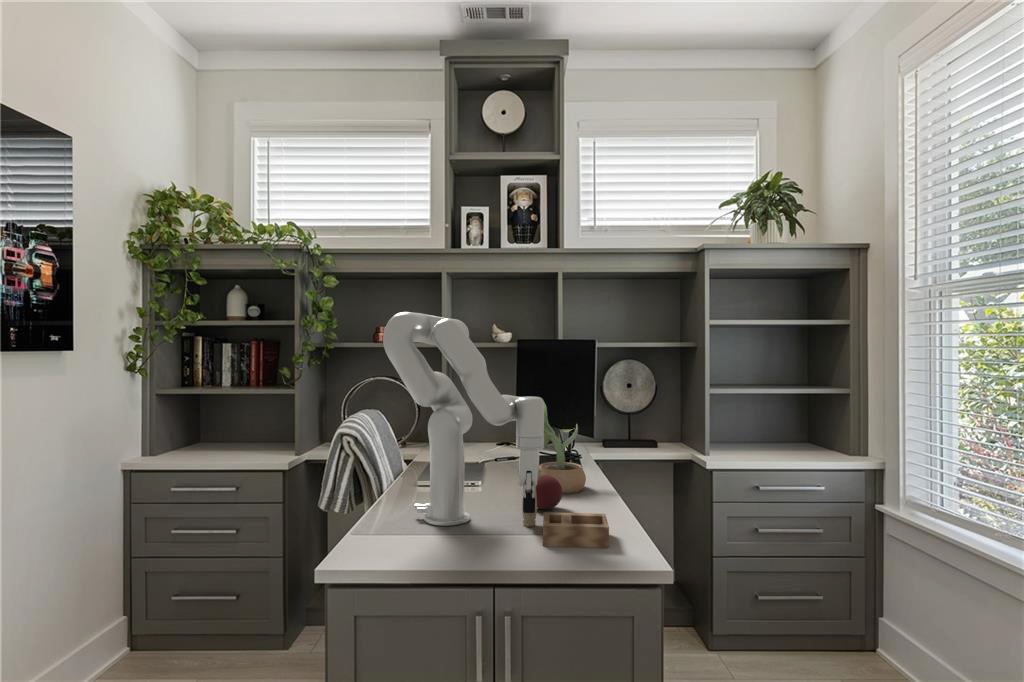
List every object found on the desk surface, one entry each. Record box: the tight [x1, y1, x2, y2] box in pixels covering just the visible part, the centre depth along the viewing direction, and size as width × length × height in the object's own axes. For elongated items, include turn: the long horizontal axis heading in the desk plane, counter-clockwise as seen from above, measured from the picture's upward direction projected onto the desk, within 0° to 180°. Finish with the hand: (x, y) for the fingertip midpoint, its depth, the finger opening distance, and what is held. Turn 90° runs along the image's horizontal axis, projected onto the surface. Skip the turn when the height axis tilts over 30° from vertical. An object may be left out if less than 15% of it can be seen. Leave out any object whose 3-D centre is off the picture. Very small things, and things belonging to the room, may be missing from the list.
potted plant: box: [539, 402, 587, 495], centre depth 219 cm, size 22×18×30 cm
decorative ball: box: [536, 475, 563, 511], centre depth 192 cm, size 10×10×10 cm
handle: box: [517, 468, 541, 527], centre depth 175 cm, size 5×6×15 cm
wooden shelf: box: [542, 511, 610, 549], centre depth 164 cm, size 16×12×5 cm
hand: (529, 509), depth 175 cm, fingers open, 4 cm apart
